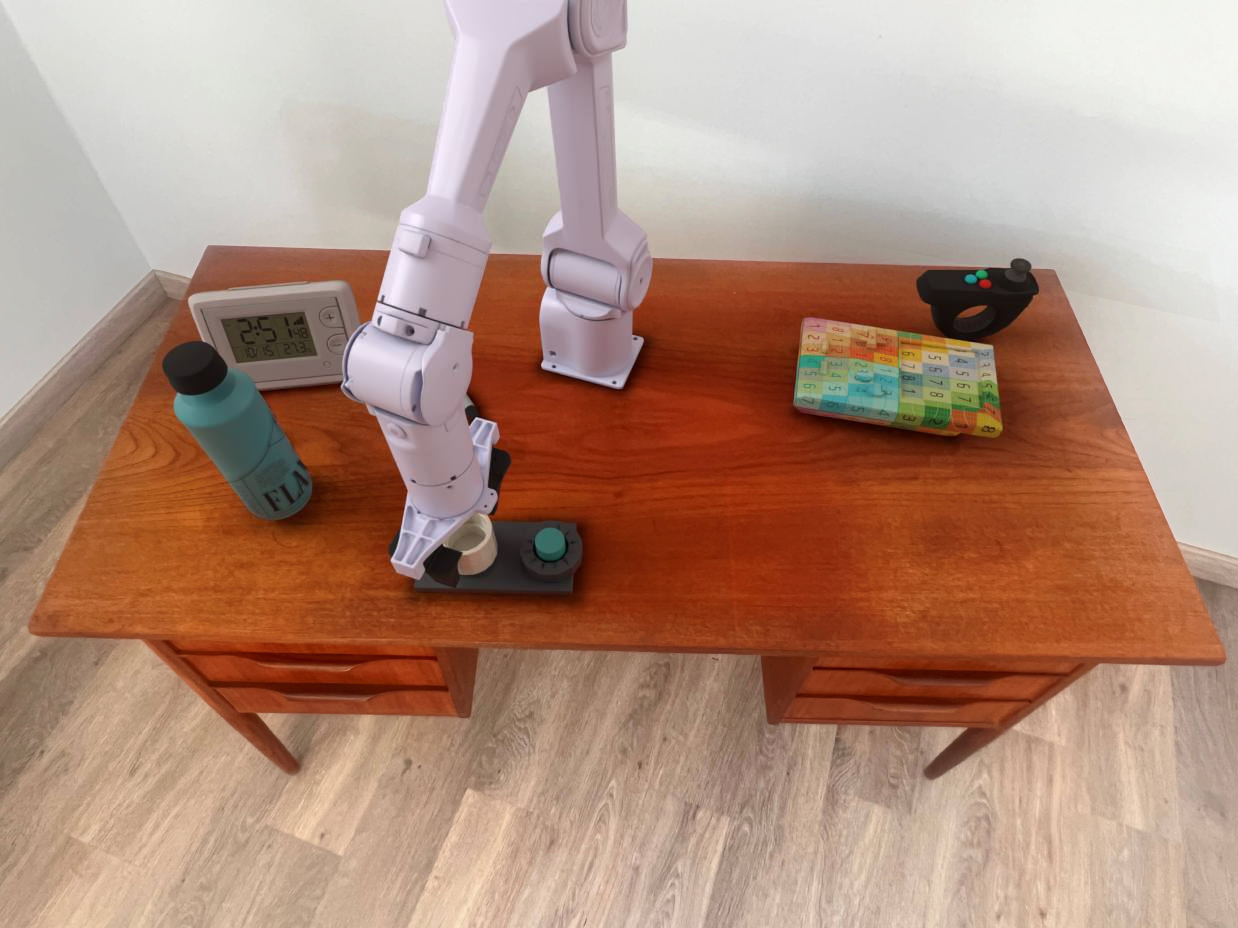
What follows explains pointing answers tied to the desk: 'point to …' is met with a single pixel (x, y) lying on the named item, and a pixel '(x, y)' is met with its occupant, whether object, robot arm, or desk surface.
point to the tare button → (550, 544)
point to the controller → (977, 298)
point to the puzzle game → (897, 379)
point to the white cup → (474, 544)
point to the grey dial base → (520, 564)
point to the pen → (470, 408)
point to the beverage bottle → (237, 431)
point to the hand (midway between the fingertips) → (466, 544)
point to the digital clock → (280, 330)
